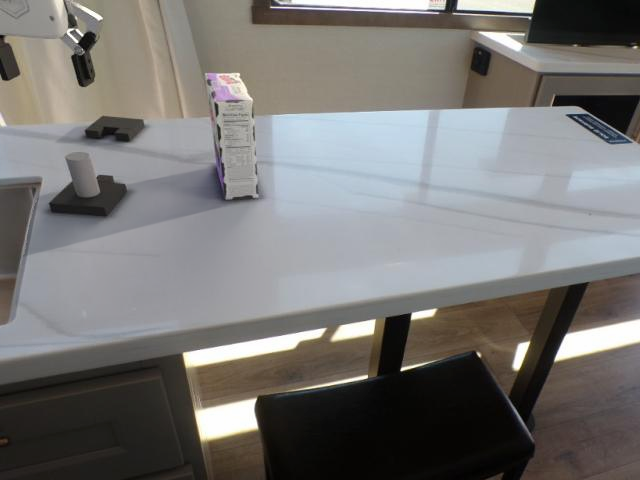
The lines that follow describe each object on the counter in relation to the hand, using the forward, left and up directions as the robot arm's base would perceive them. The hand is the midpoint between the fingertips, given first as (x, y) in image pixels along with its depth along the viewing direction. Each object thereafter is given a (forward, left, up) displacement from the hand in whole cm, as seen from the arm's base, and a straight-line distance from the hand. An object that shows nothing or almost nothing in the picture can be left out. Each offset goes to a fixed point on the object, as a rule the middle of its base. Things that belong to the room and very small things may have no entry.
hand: (49, 81), depth 70 cm
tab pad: (0, +2, -18) cm, 18 cm away
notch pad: (-7, +28, -18) cm, 34 cm away
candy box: (+20, +11, -18) cm, 30 cm away
